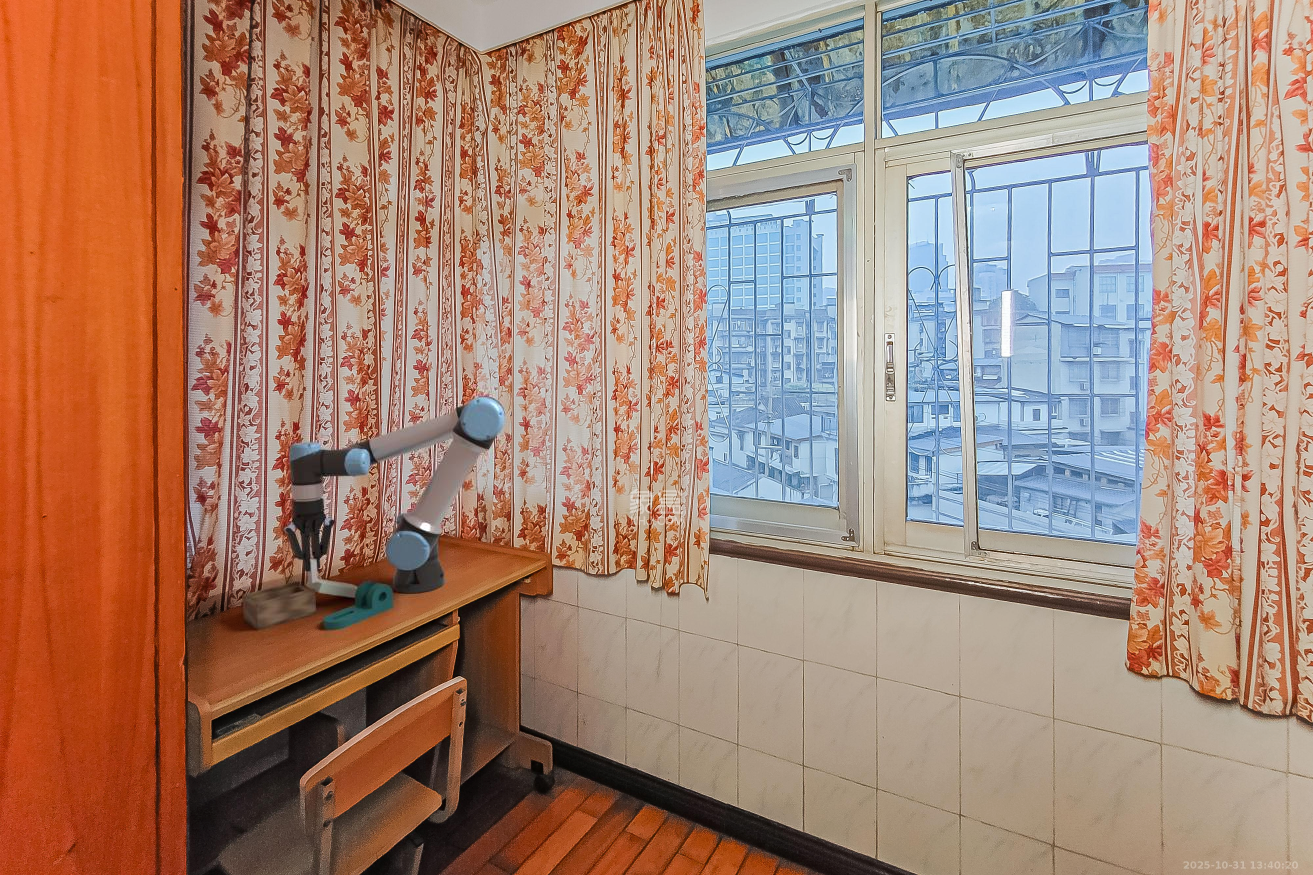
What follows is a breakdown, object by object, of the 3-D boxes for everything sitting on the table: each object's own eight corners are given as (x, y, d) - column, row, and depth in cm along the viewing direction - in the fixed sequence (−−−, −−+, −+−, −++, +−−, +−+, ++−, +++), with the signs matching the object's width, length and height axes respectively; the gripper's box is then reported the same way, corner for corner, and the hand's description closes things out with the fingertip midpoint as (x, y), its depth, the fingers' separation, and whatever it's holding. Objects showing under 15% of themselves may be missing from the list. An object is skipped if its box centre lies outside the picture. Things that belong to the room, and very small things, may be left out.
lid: (348, 592, 180) (351, 584, 181) (362, 598, 175) (365, 590, 176) (305, 585, 170) (309, 577, 171) (318, 592, 165) (322, 583, 166)
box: (300, 604, 170) (299, 580, 170) (316, 613, 164) (314, 588, 164) (243, 620, 159) (242, 594, 159) (258, 630, 153) (256, 603, 153)
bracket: (376, 604, 172) (375, 577, 171) (393, 608, 169) (392, 581, 168) (317, 627, 156) (316, 598, 155) (335, 632, 153) (333, 602, 152)
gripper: (326, 493, 173) (330, 572, 175) (276, 500, 162) (281, 584, 165) (338, 496, 168) (343, 577, 170) (287, 504, 158) (293, 590, 160)
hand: (312, 581), depth 168 cm, fingers closed
